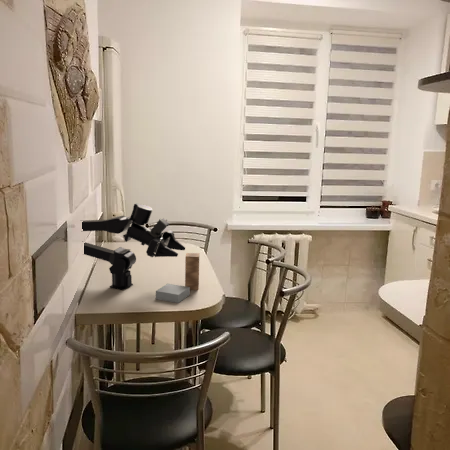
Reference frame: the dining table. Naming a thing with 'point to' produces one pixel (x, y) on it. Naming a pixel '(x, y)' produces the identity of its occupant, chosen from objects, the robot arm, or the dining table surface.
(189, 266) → the walnut pillar
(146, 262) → the dining table surface
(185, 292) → the slate plinth
